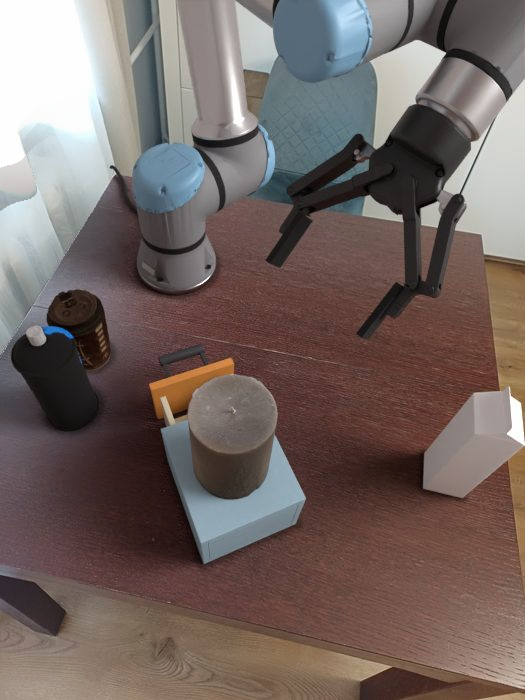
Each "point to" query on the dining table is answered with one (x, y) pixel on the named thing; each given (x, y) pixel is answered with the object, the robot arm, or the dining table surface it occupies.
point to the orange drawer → (183, 383)
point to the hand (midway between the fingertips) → (315, 298)
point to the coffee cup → (82, 325)
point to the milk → (474, 443)
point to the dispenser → (232, 515)
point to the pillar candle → (231, 435)
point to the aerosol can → (56, 376)
